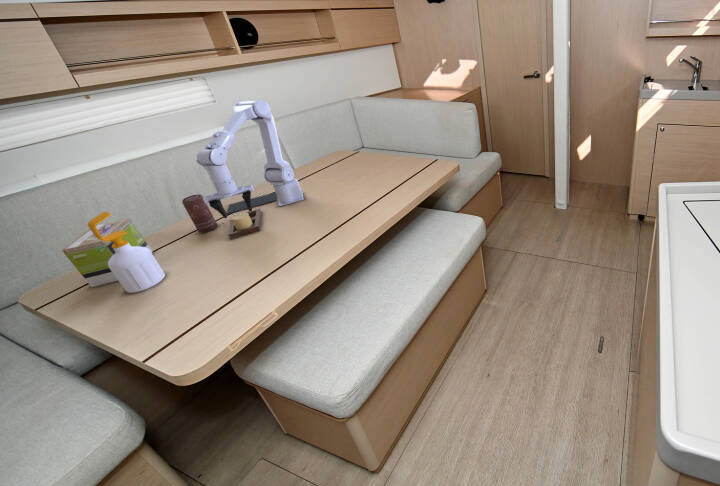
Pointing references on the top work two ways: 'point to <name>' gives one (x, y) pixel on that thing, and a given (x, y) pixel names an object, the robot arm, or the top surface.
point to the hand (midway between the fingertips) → (238, 213)
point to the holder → (255, 228)
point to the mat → (252, 203)
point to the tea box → (101, 251)
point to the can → (199, 213)
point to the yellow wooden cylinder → (242, 221)
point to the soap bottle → (129, 260)
